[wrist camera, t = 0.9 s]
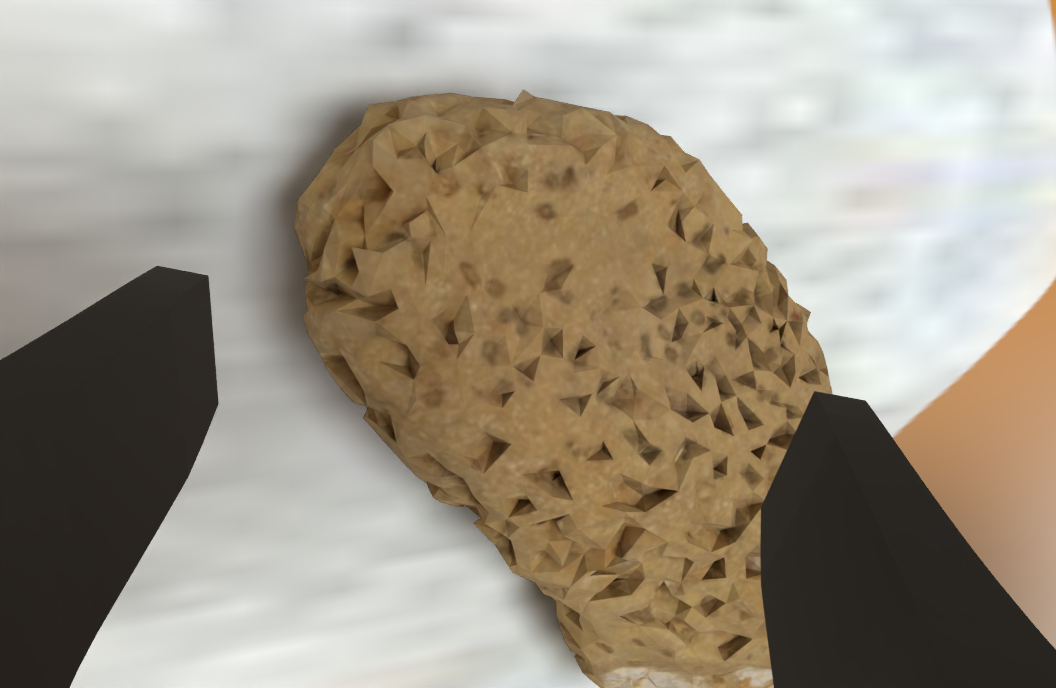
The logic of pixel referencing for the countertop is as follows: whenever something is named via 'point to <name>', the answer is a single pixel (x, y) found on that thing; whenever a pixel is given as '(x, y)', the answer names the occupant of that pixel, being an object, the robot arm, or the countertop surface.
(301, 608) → the countertop surface
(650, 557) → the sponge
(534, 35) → the countertop surface
